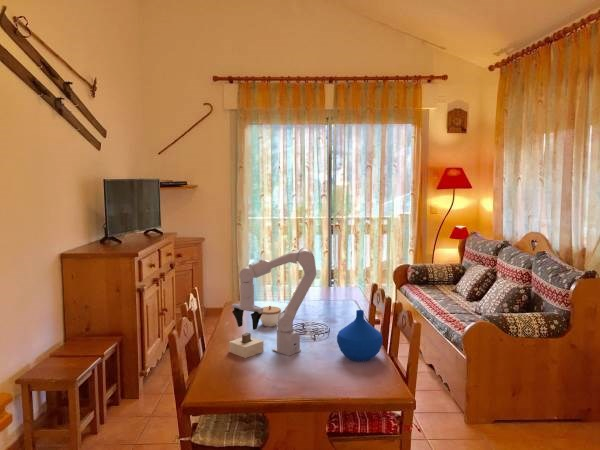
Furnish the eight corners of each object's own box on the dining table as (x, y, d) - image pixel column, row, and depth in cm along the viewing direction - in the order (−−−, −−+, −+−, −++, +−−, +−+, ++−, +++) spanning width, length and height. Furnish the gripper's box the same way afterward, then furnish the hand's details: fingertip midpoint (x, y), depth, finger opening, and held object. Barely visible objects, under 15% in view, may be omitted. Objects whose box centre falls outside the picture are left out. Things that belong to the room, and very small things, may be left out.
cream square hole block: (263, 351, 198) (263, 340, 197) (245, 358, 190) (245, 347, 190) (247, 345, 204) (247, 335, 204) (229, 352, 197) (229, 341, 197)
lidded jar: (255, 326, 231) (254, 307, 230) (266, 320, 241) (266, 302, 240) (273, 329, 226) (273, 310, 226) (284, 323, 236) (284, 304, 235)
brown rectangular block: (250, 349, 199) (250, 333, 198) (246, 352, 195) (246, 335, 195) (246, 348, 199) (246, 332, 199) (242, 351, 196) (242, 335, 196)
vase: (344, 367, 181) (344, 319, 179) (331, 350, 199) (331, 306, 197) (389, 364, 184) (390, 316, 182) (373, 347, 202) (373, 303, 200)
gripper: (267, 295, 196) (267, 327, 198) (238, 291, 203) (239, 322, 205) (257, 299, 190) (257, 332, 192) (228, 295, 197) (229, 326, 199)
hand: (247, 327), depth 198 cm, fingers open, 7 cm apart
